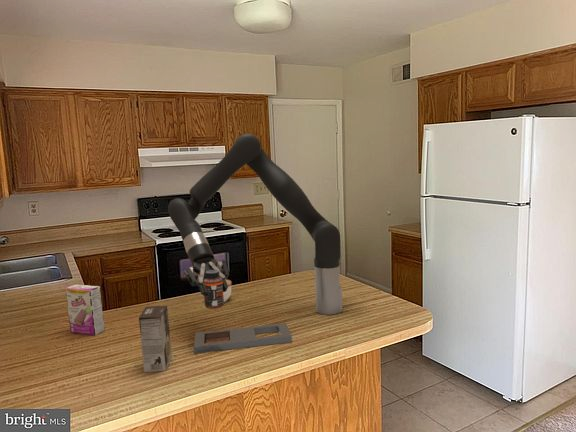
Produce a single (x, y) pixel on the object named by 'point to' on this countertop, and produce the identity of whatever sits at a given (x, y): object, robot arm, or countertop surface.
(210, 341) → the plate with square holes
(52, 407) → the countertop surface
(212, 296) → the supplement bottle
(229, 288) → the lidded jar
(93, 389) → the countertop surface
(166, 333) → the coffee box
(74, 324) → the candy bar box
